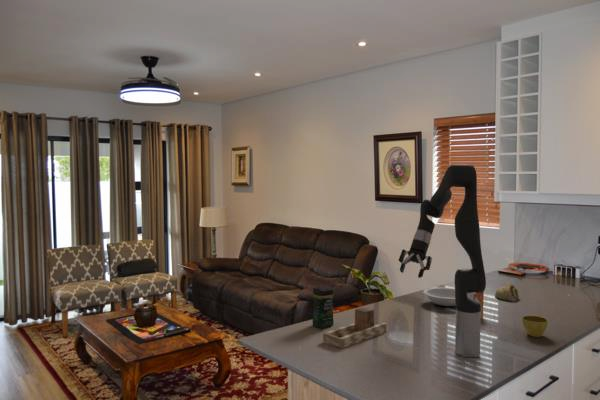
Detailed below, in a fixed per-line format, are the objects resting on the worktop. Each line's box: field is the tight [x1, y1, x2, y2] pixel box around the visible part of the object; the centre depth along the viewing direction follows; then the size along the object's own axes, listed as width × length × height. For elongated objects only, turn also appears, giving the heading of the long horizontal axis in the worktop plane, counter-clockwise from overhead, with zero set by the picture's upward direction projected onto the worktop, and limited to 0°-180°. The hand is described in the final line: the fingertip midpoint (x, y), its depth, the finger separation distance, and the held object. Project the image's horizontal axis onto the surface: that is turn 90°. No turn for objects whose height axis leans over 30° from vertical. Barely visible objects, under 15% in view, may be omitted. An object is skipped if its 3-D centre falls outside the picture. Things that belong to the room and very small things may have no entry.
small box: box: [467, 290, 485, 318], centre depth 232 cm, size 8×6×13 cm
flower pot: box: [521, 315, 549, 338], centre depth 205 cm, size 10×10×7 cm
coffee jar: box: [312, 284, 335, 329], centre depth 219 cm, size 10×8×19 cm
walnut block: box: [354, 306, 375, 332], centre depth 208 cm, size 6×6×10 cm
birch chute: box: [322, 322, 387, 349], centre depth 204 cm, size 30×10×4 cm, turn 133°
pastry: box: [494, 284, 520, 302], centre depth 267 cm, size 14×12×8 cm
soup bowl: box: [423, 287, 456, 307], centre depth 254 cm, size 24×24×7 cm
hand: (410, 274), depth 212 cm, fingers open, 8 cm apart
